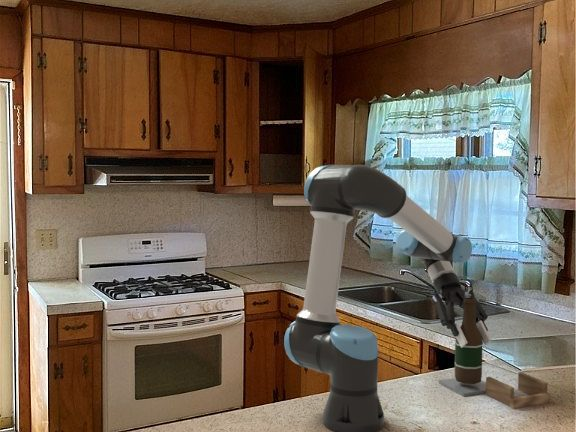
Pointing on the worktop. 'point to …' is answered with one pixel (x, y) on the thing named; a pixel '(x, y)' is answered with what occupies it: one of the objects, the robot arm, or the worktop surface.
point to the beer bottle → (469, 347)
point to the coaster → (464, 387)
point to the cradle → (525, 384)
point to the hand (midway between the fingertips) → (476, 343)
